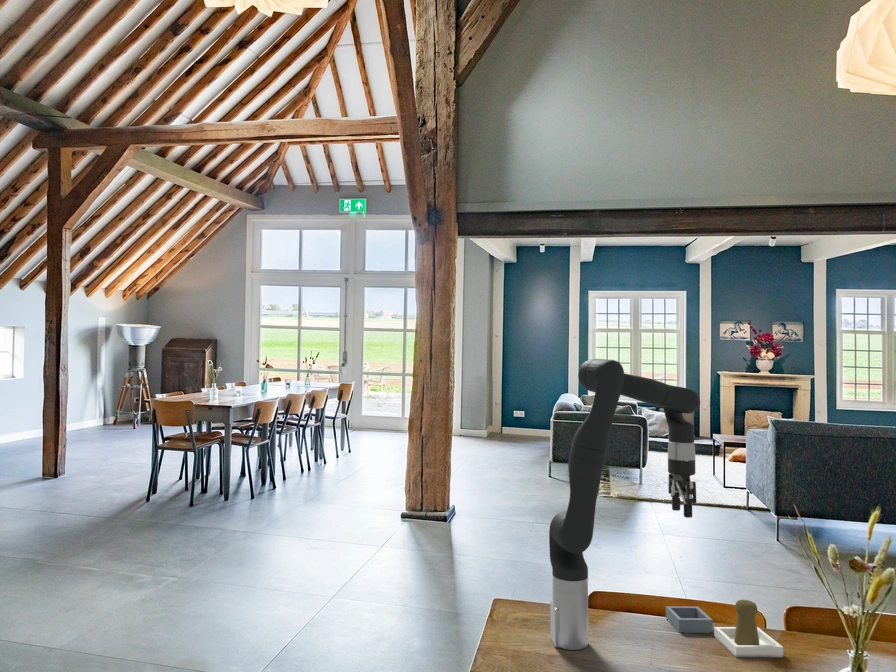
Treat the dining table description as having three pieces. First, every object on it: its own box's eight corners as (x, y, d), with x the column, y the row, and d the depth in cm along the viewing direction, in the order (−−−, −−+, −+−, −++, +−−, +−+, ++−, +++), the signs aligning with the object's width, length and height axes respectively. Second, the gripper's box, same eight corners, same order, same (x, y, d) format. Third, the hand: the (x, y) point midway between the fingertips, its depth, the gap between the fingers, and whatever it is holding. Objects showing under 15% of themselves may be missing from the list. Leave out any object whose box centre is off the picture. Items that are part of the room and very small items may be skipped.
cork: (762, 650, 156) (762, 606, 157) (737, 648, 158) (736, 604, 158) (756, 640, 162) (755, 598, 163) (731, 638, 163) (730, 596, 164)
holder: (678, 632, 168) (678, 619, 168) (665, 618, 177) (665, 606, 177) (712, 632, 168) (712, 619, 168) (698, 618, 177) (697, 606, 178)
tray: (736, 657, 154) (735, 646, 154) (714, 636, 166) (714, 626, 166) (783, 657, 154) (783, 647, 154) (758, 636, 166) (757, 627, 166)
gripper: (659, 454, 186) (660, 508, 185) (678, 460, 172) (678, 519, 171) (684, 454, 186) (684, 508, 185) (704, 461, 172) (705, 519, 171)
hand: (681, 513), depth 178 cm, fingers open, 8 cm apart
